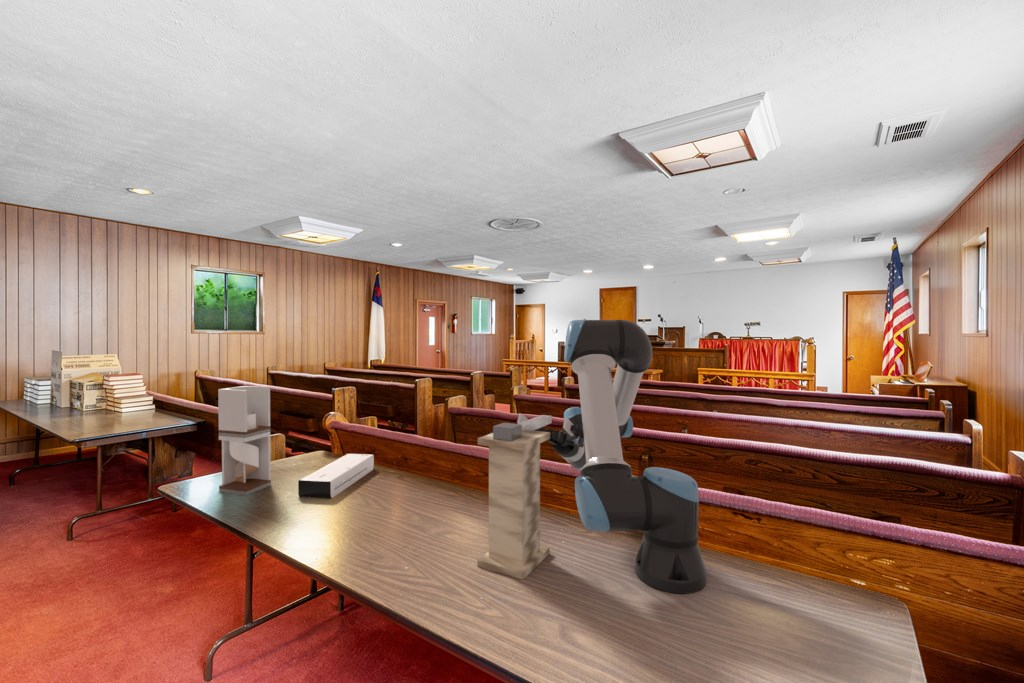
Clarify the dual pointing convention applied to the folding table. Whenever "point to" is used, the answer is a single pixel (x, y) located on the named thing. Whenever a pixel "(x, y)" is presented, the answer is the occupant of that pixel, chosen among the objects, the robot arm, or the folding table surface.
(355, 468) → the laminator
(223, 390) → the white tower
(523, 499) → the pedestal
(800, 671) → the folding table surface
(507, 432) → the grey long bar
